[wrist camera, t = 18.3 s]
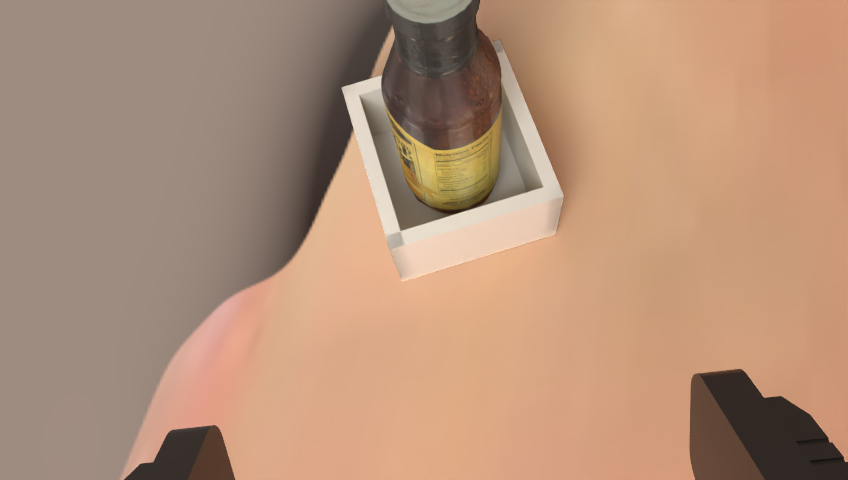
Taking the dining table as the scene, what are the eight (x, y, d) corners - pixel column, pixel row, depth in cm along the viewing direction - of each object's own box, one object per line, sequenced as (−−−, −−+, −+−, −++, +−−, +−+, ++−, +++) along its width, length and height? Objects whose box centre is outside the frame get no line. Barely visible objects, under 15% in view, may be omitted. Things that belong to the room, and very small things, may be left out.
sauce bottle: (409, 134, 50) (361, -92, 31) (501, 136, 49) (507, -94, 31) (402, 223, 47) (345, 36, 29) (498, 226, 47) (503, 36, 28)
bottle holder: (499, 91, 51) (500, 39, 46) (555, 234, 47) (563, 196, 42) (358, 134, 51) (341, 87, 46) (402, 282, 47) (389, 249, 41)
